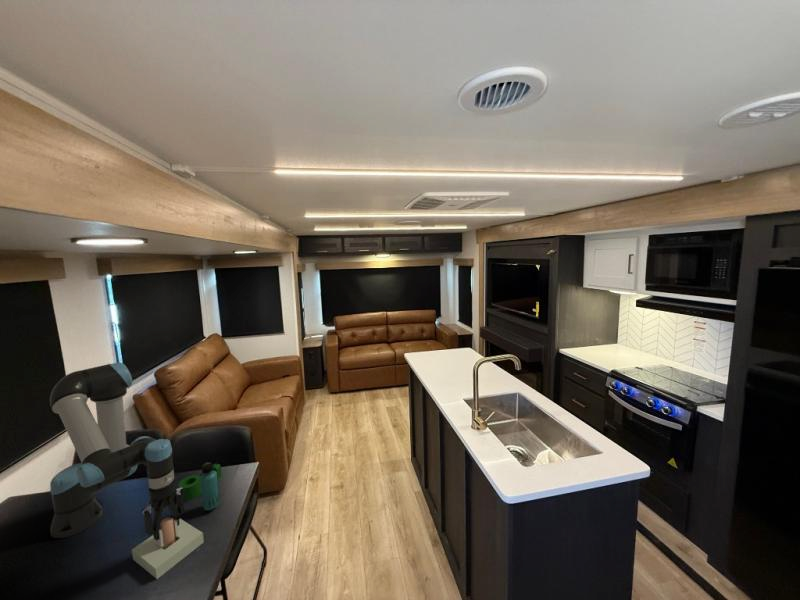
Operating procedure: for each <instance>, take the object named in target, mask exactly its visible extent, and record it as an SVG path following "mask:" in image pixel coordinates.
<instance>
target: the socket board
mask: <svg viewBox="0 0 800 600" xmlns="http://www.w3.org/2000/svg"><path fill="white" fill-rule="evenodd" d="M179 522H180V524H179V525H178V526H177V528H178V536H177V537H175V543H173V544H172V545H170V546H169V547H168V548H166V549H165V550H164V549H162V548H161V547H160V546H159V545H157V541H156V540H155V539H154V536H153V535H150V537H148V538H147V539H145V540H144V541H142V542H141V543H139V544H138V545H136V546H135V547H133V548H132V549H131V554H132V560H133V561H134V562H135V563H137V564H138V565H139V566H140V567H142V568H143V569H144V570H145V571H146V572H148V573H149V574H150V575H151V576H152V577H154V578H155V579H156V580H158V579H159V578H161V577H162V576H164V574H165V573H167V572H168V571H170V570H171V569H172V568H173V567H174V566H175V565H177V564H178V563H179V562H181V561H182V560H183V559H185V558H186V557H187V556H188V555H189V554H191V553H192V552H193V551H194V550H196V549H197V548H199V546H201V545H202V544H204V533H203V532H202V531H201V530H199V529H197V528H196V527H195V526H193V525H191V524H189V523H188V522H186V521H185V520H183V519H182V518H180V519H179Z"/></svg>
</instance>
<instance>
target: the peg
mask: <svg viewBox="0 0 800 600" xmlns="http://www.w3.org/2000/svg"><path fill="white" fill-rule="evenodd" d="M160 529H161V530H162V534H163V543H164V546H163V547H162V549H164V550H165V549H166V548H168V547H169V546H170V545H172V544H173V543H175V534H174V525H173V517H171V516H169V517H165V518H163V519H161V523H160Z"/></svg>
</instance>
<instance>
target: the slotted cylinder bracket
mask: <svg viewBox="0 0 800 600" xmlns="http://www.w3.org/2000/svg"><path fill="white" fill-rule="evenodd" d="M206 464H212V463H211V462H208V461H207V462H206V463H204V464H202V466H201V475H199V474H192V475H188V476H186V477H185V478H182V479H181V480H180V481H179V482H178V484H177V486H178V487H177V489H178V488H179V487H182V488H183V489H185V490H184V494H183V498H184V502H186V501H192V500H194V499H195V498H198V497H199V496H200V495H202V490H201V480H200V477H201V476H202V474H203V472H202V470H203V466H205V465H206ZM213 468H214V469H213V471H216V472H217V480H219V479H220V478H221V477H222V467H221V464H219V463H214V464H213Z"/></svg>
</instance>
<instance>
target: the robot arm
mask: <svg viewBox="0 0 800 600" xmlns="http://www.w3.org/2000/svg"><path fill="white" fill-rule="evenodd" d="M132 386H133V378H132V374H131V372H130V370H129V369H128V367H127V366H126V365H125V364H124V363H123V362H114V363H106V364H104V365H100V366H99V365H98V366H95V367H91V368H86V369H82V370H76V371H73V372H70V373H68V374H66V375H65V376H63V377H61V378H60V379H59V381H58V382H57V383H55V385H54V387H53V388H52V390H51V392H50V396H49V406H50V408H51V410H52V412H53V413H54V414H57V415H59V418H60V420H61V422H62V424H63V426H64V428H65V430H66V432H67V435H68V437H69V438H70V441H71V443H72V445H73V447H74V450H75V451H76V454H77V455H78V458H79V460H80V463H75V464H73V465H70V466H67V467H65V468H63V469H62V470H61V471H59V472H58V473H56V474H55V475H54V476H53V478H52V479H51V481H50V483H49V484H50V487H49V488H50V494H51V501H52V506H53V511H54V512H53V513H54V515H53V518H52V520H51V524H50V529H49V531H50V532H49V533H50V535H51V537H52V538H54V539H63V538H69V537H71V536H74V535H77V534H78V533H79V534H80V533H81V532H83V531H85V530H87V529H89V528H90V527H92V526H93V525H95V524H96V523H97V522H98V521H99V520H100V519H101V517H102V515H103V508H102V505H101V504H100V502H99V501H98V500H97V499H96V497H95V493H96V492H98V491H100V490H102V489H104V488H106V487H108V486H110V485H112V484H115V483H116V482H119V481H121V480H125V478H128V477H129V476H132V475H133V474H134V473H135V472H136V471H137V468H138V465H142V464H143V465H145V467H146V473H147V474H146V475H147V483H148V484H147V485H148V493H149V499H150V501H149V505H148V506H147V507H146V508H142V509H141V510H140V513H141V514H142V515H143V519H144V527H145V532H146V533H147V534H148V535H149V536H154V539H155V540H156V541H157V545H159V546H160V547H161V548H162V547H163V546H164V543H163V534H162V530H161V529H160V523H161V521H162V514H163V512H164V509H165V508H166V507H168V509H169V511H170V514H171V516H172V518H173V525H174V534H175V537H177V536H178V528H177V526H178V525H179V524H180V522H179V519H182V518H181V515H183V514H184V513H185V501H184V498H183V494H184V490H185V489H183V488H182V487H179V488H178V487H177V488H176V481H175V472H174V459H173V446H172V444H171V441H170V439H167V438H165V439H164V438H160V439H155V438H153V437H150V436H145V435H144V436H139V437H137V438H136V439H134V440H133V441H131V443H130V445H129V444H127V434H126V423H125V411H124V409H125V408H124V399H123V398H124V396H126V395H127V393H128V390H127V388H128V389H129V388H130V387H132ZM89 399H90V402H92V403H95V410H96V418H95V417H94V415H93V414H92V411H91V409H90V407H89V405H88V404H87V402H88V400H89ZM96 419H97V420H96ZM175 497H176V498H175ZM174 498H175V499H176V504H175V501H174ZM152 509H153V511H154V513H153V518H152V514H151V513H152Z"/></svg>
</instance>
